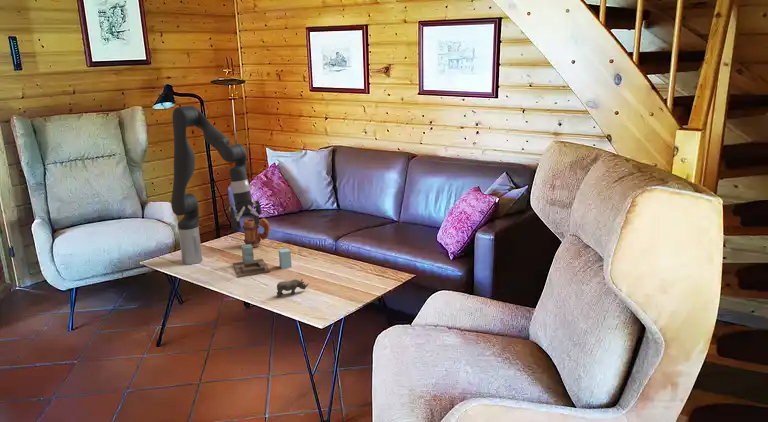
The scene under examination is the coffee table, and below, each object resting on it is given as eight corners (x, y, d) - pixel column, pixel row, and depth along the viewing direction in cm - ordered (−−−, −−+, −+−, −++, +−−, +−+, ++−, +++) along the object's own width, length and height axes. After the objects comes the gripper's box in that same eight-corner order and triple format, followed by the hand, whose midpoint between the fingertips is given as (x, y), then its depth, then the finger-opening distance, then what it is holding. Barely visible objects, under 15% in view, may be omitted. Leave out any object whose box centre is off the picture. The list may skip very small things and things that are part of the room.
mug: (241, 248, 295) (238, 220, 291) (247, 243, 302) (244, 216, 299) (268, 249, 292) (265, 221, 288) (273, 244, 300) (271, 216, 296)
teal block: (279, 266, 267) (278, 249, 265) (289, 264, 269) (288, 248, 267) (282, 269, 263) (280, 252, 261) (291, 267, 265) (290, 251, 263)
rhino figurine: (310, 292, 235) (309, 278, 234) (277, 298, 230) (276, 284, 229) (307, 288, 239) (306, 275, 238) (275, 294, 234) (274, 281, 232)
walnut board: (232, 265, 270) (231, 247, 268) (262, 260, 276) (260, 242, 273) (239, 277, 254) (237, 258, 252) (270, 272, 260) (268, 253, 257)
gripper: (251, 187, 255) (258, 222, 258) (222, 193, 246) (229, 230, 249) (259, 187, 249) (266, 223, 252) (230, 194, 240) (237, 231, 243)
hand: (248, 226), depth 251 cm, fingers open, 8 cm apart
